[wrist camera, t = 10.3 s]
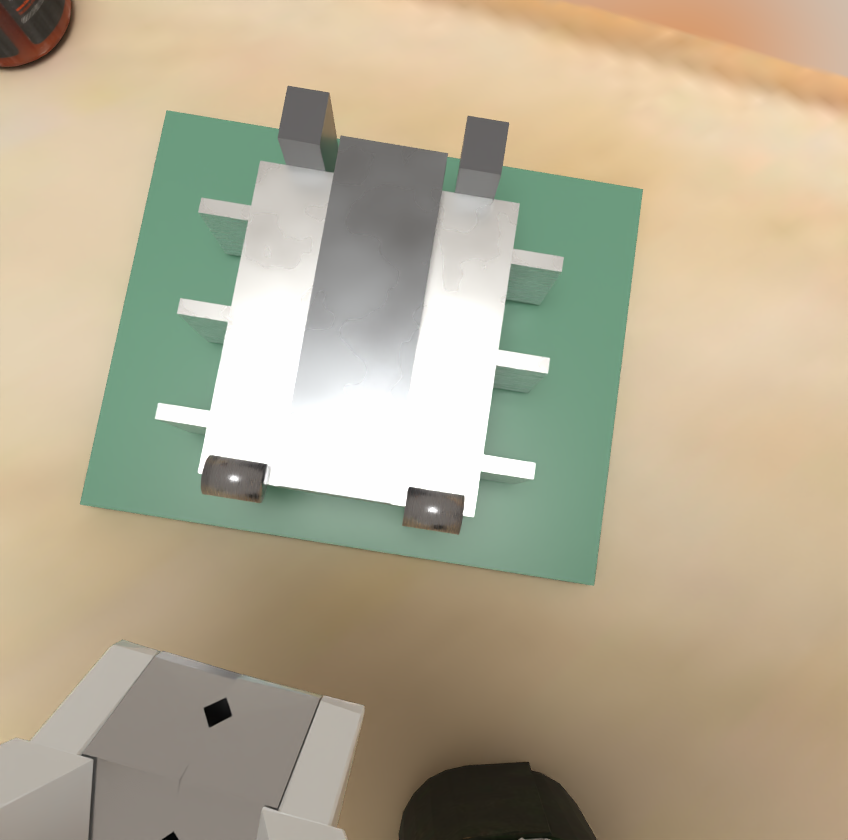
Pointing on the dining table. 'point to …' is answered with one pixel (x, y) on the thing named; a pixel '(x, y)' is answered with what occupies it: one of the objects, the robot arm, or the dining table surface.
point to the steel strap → (363, 321)
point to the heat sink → (434, 361)
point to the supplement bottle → (31, 29)
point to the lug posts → (317, 142)
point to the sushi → (493, 807)
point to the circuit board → (509, 410)
